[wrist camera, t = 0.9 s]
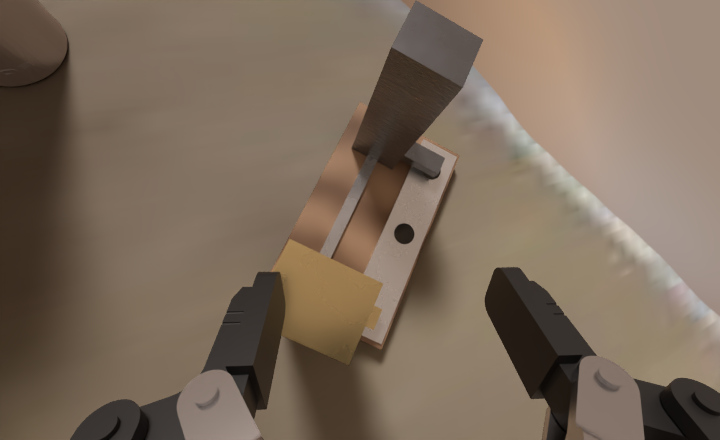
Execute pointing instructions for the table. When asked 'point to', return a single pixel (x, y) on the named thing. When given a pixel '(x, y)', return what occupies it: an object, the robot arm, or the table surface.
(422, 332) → the table surface
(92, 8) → the table surface
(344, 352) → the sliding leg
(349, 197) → the divider base
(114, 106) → the table surface
